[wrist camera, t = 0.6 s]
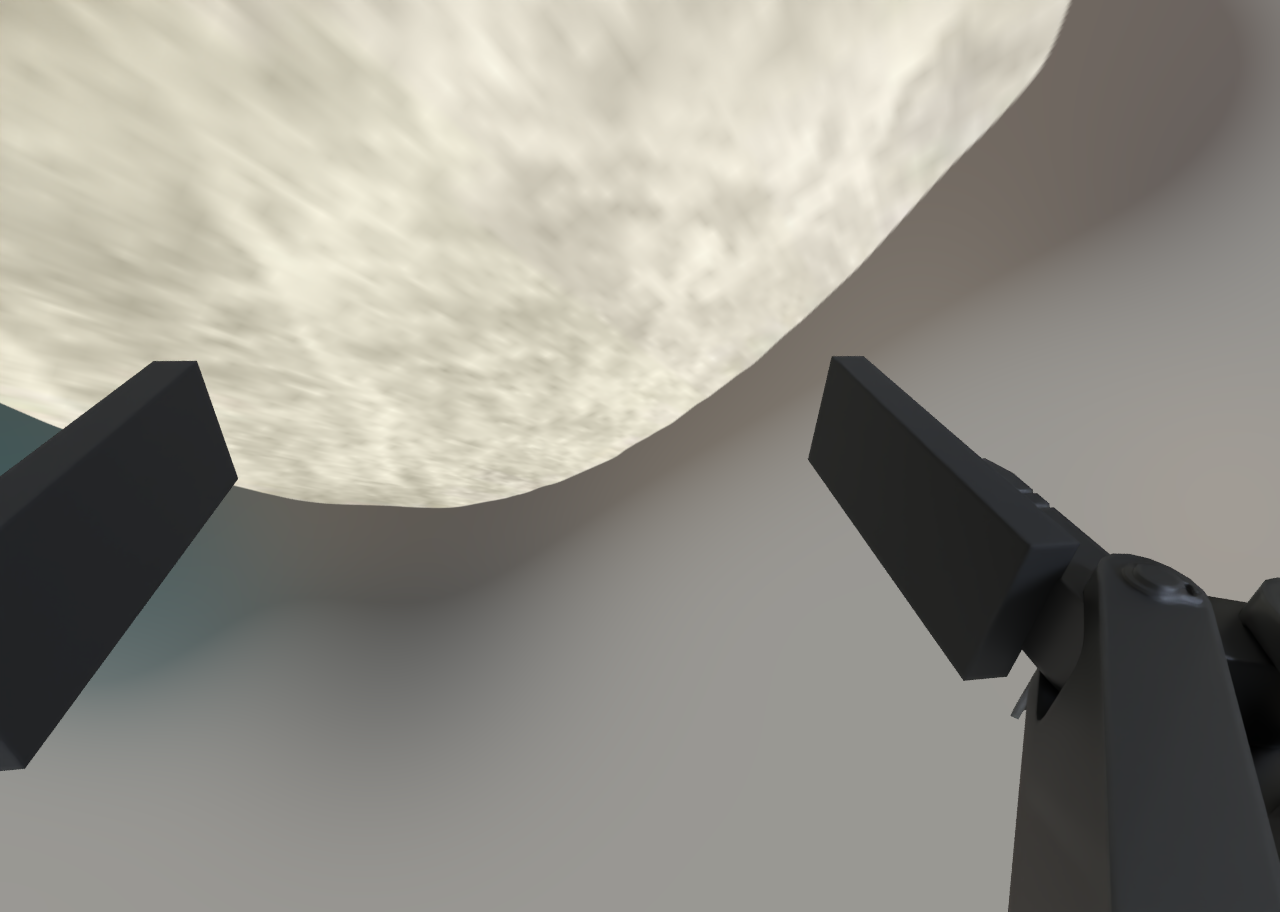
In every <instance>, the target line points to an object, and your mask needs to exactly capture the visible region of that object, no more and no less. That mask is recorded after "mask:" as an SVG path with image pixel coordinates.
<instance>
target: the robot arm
mask: <svg viewBox="0 0 1280 912" xmlns="http://www.w3.org/2000/svg"><path fill="white" fill-rule="evenodd" d="M808 460H809V462H810V463H811V465H812V466H813V467H814V469H815V470H816V472H817V473H818V474H819V476H820V477H821V479H822V480H823V481H824V483H825V484H826V486H827V487H828V488H829V490H830V491H831V493H832V494H833V496H834V497H835V499H836V500H837V501H838V503H839V504H840V505H841V507H842V509H843V510H844V511H845V513H846V514H847V516H848V517H849V518H850V520H851V521H852V523H853V524H854V526H855V527H856V528H857V530H858V531H859V533H860V534H861V535H862V537H863V538H864V540H865V541H866V543H867V544H868V546H869V547H870V548H871V550H872V551H873V553H874V554H875V555H876V557H877V558H878V560H879V561H880V563H881V564H882V565H883V567H884V568H885V570H886V571H887V573H888V574H889V575H890V577H891V578H892V580H893V581H894V582H895V584H896V585H897V587H898V588H899V590H900V591H901V592H902V594H903V595H904V597H905V598H906V599H907V601H908V602H909V604H910V605H911V607H912V608H913V609H914V611H915V612H916V614H917V615H918V617H919V618H920V619H921V621H922V622H923V624H924V625H925V627H926V628H927V629H928V631H929V632H930V634H931V635H932V636H933V638H934V639H935V641H936V642H937V644H938V645H939V646H940V648H941V649H942V651H943V652H944V653H945V655H946V656H947V658H948V659H949V661H950V662H951V663H952V665H953V666H954V668H955V669H956V671H957V672H958V673H959V675H960V676H961V678H962V679H963V681H965V680H974V679H975V680H976V679H986V678H997V677H1007V675H1008V674H1009V672H1010V670H1011V668H1012V666H1013V665H1014V663H1015V661H1016V659H1017V657H1018V656H1019V654H1020V652H1021V650H1023V651H1024V652H1025V654H1026V655H1027V656H1028V657H1029V658H1030V659H1031V661H1032V662H1033V663H1034V664H1035V665H1036V667H1037V670H1036V671H1035V673H1034V675H1033V676H1032V678H1031V680H1030V682H1029V683H1028V685H1027V687H1026V689H1025V690H1024V692H1023V694H1022V695H1021V697H1020V699H1019V700H1018V702H1017V704H1016V706H1015V708H1014V709H1013V712H1012V714H1011V716H1012V717H1014V718H1017V719H1019V717H1020V715H1021V714H1022V712H1023V710H1026V719H1025V730H1024V741H1023V752H1022V764H1021V774H1020V785H1019V786H1020V787H1019V796H1018V797H1019V798H1018V807H1017V819H1016V830H1015V841H1014V853H1013V863H1012V874H1011V885H1010V896H1009V908H1008V912H1280V578H1273V579H1269V580H1265V581H1264V582H1263V583H1262V585H1261V586H1260V587H1259V589H1258V590H1257V591H1256V592H1255V594H1254V595H1253V596H1252V597H1251V599H1250V600H1249V601H1248V603H1246V602H1240V601H1234V600H1228V599H1222V598H1216V597H1210V596H1207V595H1206V593H1205V592H1204V591H1203V590H1202V589H1201V588H1200V587H1199V586H1197V585H1196V584H1195V583H1194V582H1193V581H1192V580H1191V579H1189V578H1188V577H1186V576H1184V575H1183V574H1181V573H1179V572H1177V571H1176V570H1174V569H1172V568H1171V567H1168V566H1166V565H1164V564H1161V563H1159V562H1156V561H1154V560H1151V559H1148V558H1144V557H1140V556H1135V555H1131V554H1109V553H1108V552H1106V551H1105V550H1104V549H1103V548H1101V547H1100V546H1099V545H1098V544H1097V543H1096V542H1094V541H1093V540H1092V539H1091V538H1090V537H1089V536H1087V535H1086V534H1085V533H1084V532H1082V531H1081V530H1080V529H1079V528H1078V527H1077V526H1075V525H1074V524H1073V523H1072V522H1071V521H1069V520H1068V519H1067V518H1066V517H1065V516H1063V515H1062V514H1061V513H1060V512H1059V511H1057V510H1056V509H1055V508H1050V507H1049V503H1048V502H1047V501H1045V500H1044V499H1043V498H1042V497H1041V496H1039V495H1038V494H1037V493H1033V490H1032V489H1031V488H1030V487H1029V486H1028V485H1026V484H1025V483H1024V482H1023V481H1022V480H1020V479H1019V478H1018V477H1017V476H1016V475H1015V474H1013V473H1012V472H1010V471H1008V470H1006V469H1004V468H1002V467H1001V466H999V465H997V464H995V463H993V462H991V461H989V460H987V459H985V458H983V459H982V458H981V457H979V456H978V455H977V454H976V453H975V452H974V451H972V450H971V449H970V448H969V447H968V446H967V445H965V444H964V443H963V442H962V441H961V440H960V439H959V438H957V437H956V436H955V435H954V434H953V433H952V432H951V431H949V430H948V429H947V428H946V427H945V426H944V425H942V424H941V423H940V422H939V421H938V420H937V419H935V418H934V417H933V416H932V415H931V414H930V413H929V412H927V411H926V410H925V409H924V408H923V407H921V406H920V405H919V404H918V403H917V402H916V401H915V400H913V399H912V398H911V397H910V396H909V395H908V394H907V393H905V392H904V391H903V390H902V389H901V388H899V387H898V386H897V385H896V384H895V383H894V382H893V381H892V380H890V379H889V378H888V377H887V376H885V375H884V374H883V373H882V372H881V371H880V370H879V369H878V368H876V367H875V366H874V365H873V364H872V363H871V362H870V361H868V360H867V359H866V358H865V357H864V356H837V357H836V356H832V358H831V362H830V367H829V371H828V375H827V380H826V384H825V388H824V393H823V397H822V401H821V406H820V410H819V414H818V419H817V423H816V427H815V432H814V436H813V440H812V445H811V449H810V453H809V458H808ZM237 480H238V477H237V474H236V471H235V468H234V465H233V463H232V460H231V457H230V454H229V451H228V448H227V446H226V443H225V440H224V437H223V434H222V431H221V428H220V426H219V423H218V420H217V417H216V414H215V411H214V408H213V406H212V403H211V400H210V397H209V394H208V391H207V388H206V386H205V383H204V380H203V377H202V374H201V371H200V369H199V366H198V363H197V361H153V362H152V363H150V364H149V365H148V366H146V367H145V368H144V369H142V370H141V371H140V372H138V373H137V374H136V375H134V376H133V377H132V378H130V379H129V380H128V381H126V382H125V383H124V384H122V385H121V386H120V387H118V388H117V389H116V390H114V391H113V392H112V393H110V394H109V395H108V396H107V397H105V398H104V399H103V400H101V401H100V402H99V403H97V404H96V405H95V406H93V407H92V408H91V409H89V410H88V411H87V412H85V413H84V414H83V415H81V416H80V417H79V418H77V419H76V420H75V421H73V422H72V423H71V424H69V425H68V426H67V427H65V428H64V429H63V430H61V431H60V432H59V433H57V434H56V435H55V436H53V437H52V438H51V439H49V440H48V441H47V442H45V443H44V444H43V445H41V446H40V447H39V448H37V449H36V450H35V451H34V452H32V453H31V454H29V455H28V456H27V457H25V458H24V459H23V460H21V461H20V462H19V463H18V464H16V465H15V466H13V467H12V468H11V469H9V470H8V471H7V472H5V473H4V474H3V475H1V476H0V771H3V770H4V771H5V770H16V769H25V768H26V766H27V765H28V763H29V762H30V761H31V760H32V758H33V757H34V756H35V754H36V753H37V751H38V750H39V748H40V747H41V746H42V745H43V743H44V742H45V741H46V739H47V737H48V736H49V735H50V734H51V732H52V731H53V730H54V728H55V727H56V726H57V724H58V723H59V722H60V720H61V719H62V717H63V716H64V715H65V713H66V712H67V711H68V709H69V708H70V707H71V705H72V704H73V702H74V701H75V700H76V698H77V697H78V696H79V694H80V693H81V691H82V690H83V689H84V688H85V686H86V685H87V683H88V682H89V681H90V679H91V678H92V677H93V675H94V674H95V672H96V671H97V670H98V668H99V667H100V666H101V664H102V663H103V662H104V660H105V659H106V658H107V656H108V655H109V654H110V652H111V651H112V649H113V648H114V647H115V645H116V644H117V643H118V641H119V640H120V639H121V637H122V636H123V635H124V633H125V631H126V630H127V629H128V628H129V626H130V625H131V623H132V622H133V621H134V620H135V618H136V616H137V615H138V614H139V613H140V611H141V610H142V609H143V607H144V606H145V605H146V603H147V602H148V601H149V599H150V598H151V596H152V595H153V594H154V592H155V591H156V590H157V588H158V587H159V586H160V584H161V583H162V582H163V580H164V579H165V577H166V576H167V575H168V573H169V572H170V571H171V569H172V568H173V567H174V565H175V564H176V562H177V561H178V559H179V558H180V557H181V556H182V554H183V553H184V551H185V550H186V549H187V547H188V546H189V545H190V543H191V542H192V541H193V539H194V538H195V537H196V535H197V534H198V532H199V531H200V530H201V529H202V527H203V526H204V524H205V523H206V522H207V520H208V519H209V518H210V516H211V515H212V514H213V512H214V511H215V509H216V508H217V507H218V505H219V504H220V503H221V501H222V500H223V498H224V497H225V496H226V494H227V493H228V492H229V490H230V489H231V488H232V486H233V485H234V484H235V482H236V481H237Z"/></svg>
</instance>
